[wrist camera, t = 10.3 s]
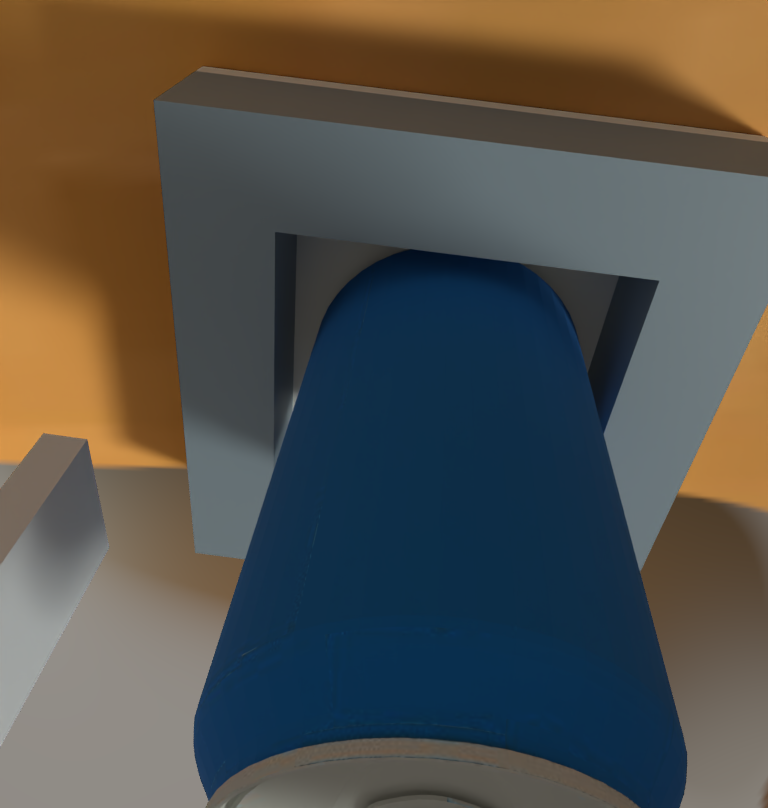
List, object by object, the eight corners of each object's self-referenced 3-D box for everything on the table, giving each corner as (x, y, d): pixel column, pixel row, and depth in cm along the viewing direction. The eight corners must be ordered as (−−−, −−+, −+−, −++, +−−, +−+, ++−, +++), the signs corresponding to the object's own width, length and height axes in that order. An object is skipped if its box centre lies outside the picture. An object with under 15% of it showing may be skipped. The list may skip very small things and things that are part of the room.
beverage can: (328, 443, 20) (208, 951, 11) (310, 228, 16) (95, 712, 7) (557, 452, 20) (652, 994, 10) (593, 232, 16) (802, 763, 6)
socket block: (202, 66, 15) (153, 99, 13) (765, 136, 15) (824, 184, 12) (223, 480, 22) (195, 552, 20) (604, 530, 22) (622, 609, 20)
